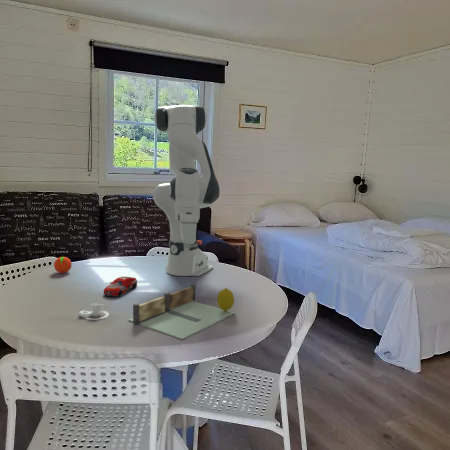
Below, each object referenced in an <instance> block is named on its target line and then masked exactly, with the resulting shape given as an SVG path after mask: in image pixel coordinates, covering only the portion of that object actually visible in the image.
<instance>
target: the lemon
mask: <svg viewBox="0 0 450 450" xmlns="http://www.w3.org/2000/svg"><path fill="white" fill-rule="evenodd" d="M216 301H217V306H218V308H219V309H222V310H224V311H225V312H226V311H229V310H231V308H233V307H234V303H235V297H234V293H233V292H232V291H231V290H230V289H229V288H227V287H225V288H224V289H221V290H220V291H219V292H218V294H217V298H216Z"/></svg>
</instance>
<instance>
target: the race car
mask: <svg viewBox="0 0 450 450" xmlns="http://www.w3.org/2000/svg"><path fill="white" fill-rule="evenodd" d="M136 287H138V280H137V279H136V277H133V276H119V277H116V278H115V279H113V280H112V282H111V281H109V284H108V285H107V286H106V287H105V288H103V295H105V296H108V297H117V298H118V297H122V295H124V294H126V293H128V292H129V291H132V290H134V289H136Z"/></svg>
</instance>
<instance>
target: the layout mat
mask: <svg viewBox="0 0 450 450" xmlns="http://www.w3.org/2000/svg"><path fill="white" fill-rule="evenodd" d="M232 314H233V315H235V312H233V311H229V310H227V311H226V312H225V311H224V310H222V309H220V308H219V307H216V306H211V305H208V304H204V303H201V302H198V301H195V300H192V301H190V302H187V303H185V304H182V305H180V306H177V307H175V308H172V309H170V311H168V312H162V313H160V314H157V315H155V316H152V317H150V318H147V319H145V320H142V321H140V322H139V323H138V324H137V325H139V326H142V327H145V328H148V329H151V330H154V331H156V332H159V333H161V334H164V335H168V336H170V337H173V338H176V339H178V340H182V341H184V340H185V339H187V338H189V337H191V336H194V335H195V334H197V333H200V332H201V331H203V330H205V329H207V328H209V327H211V326H213V325H215V324H217V323H219V322H221V321H223V320H225V319H227V318H229V317H231V316H233V315H232ZM230 315H231V316H230ZM228 316H229V317H228ZM226 317H227V318H226ZM224 318H225V319H224ZM222 319H223V320H222ZM220 320H221V321H220ZM127 321H129V322H131V323H133V317H131V318H128V319H127ZM218 321H219V322H218ZM216 322H217V323H216ZM214 323H215V324H214Z"/></svg>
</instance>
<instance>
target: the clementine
mask: <svg viewBox="0 0 450 450" xmlns="http://www.w3.org/2000/svg"><path fill="white" fill-rule="evenodd" d="M72 264H73V263H72V261H71V259H70V258H69V257H66V256H60V257H58V258H56V259H55V261H54V265H53V266H54V269H55V271H56V272H57V273H59V274H66V273H68V272H69V271H70V270H71V268H72Z"/></svg>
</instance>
